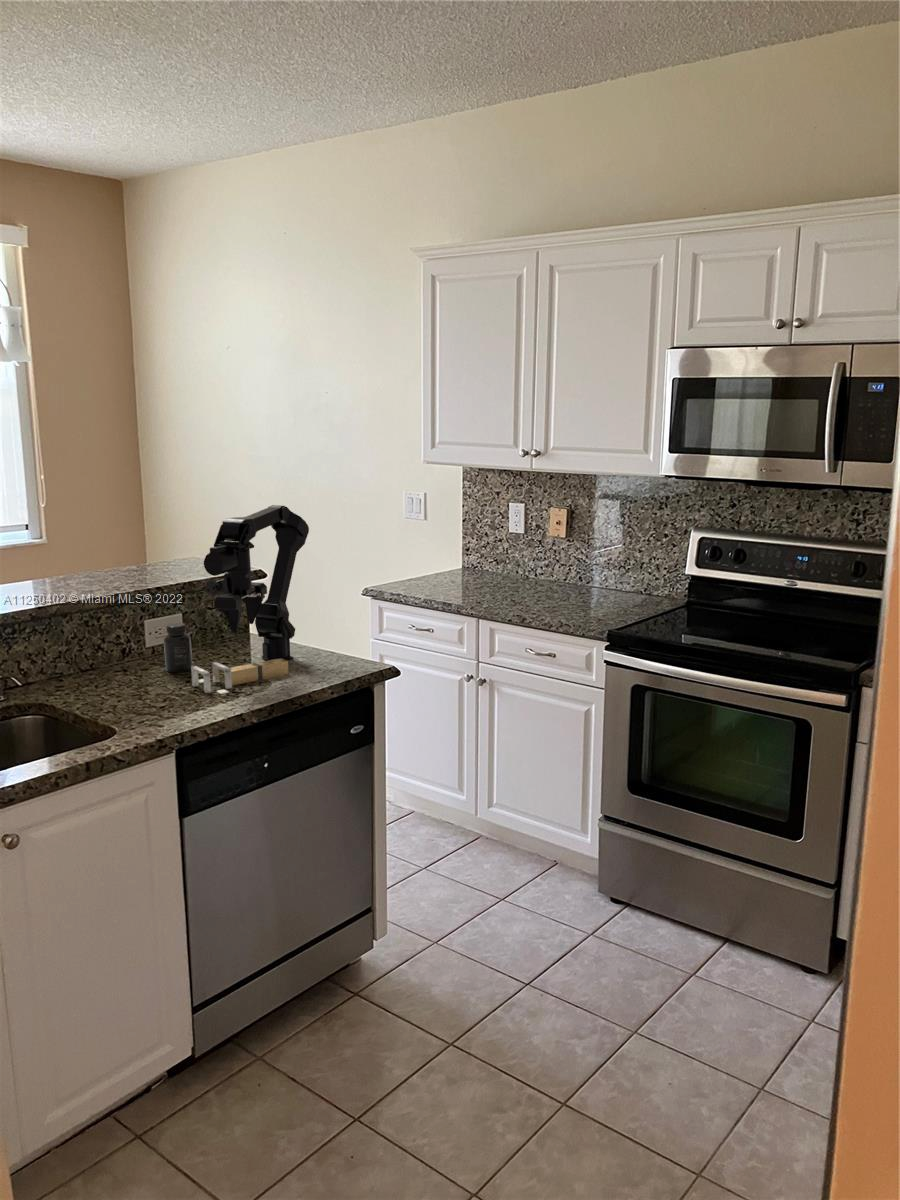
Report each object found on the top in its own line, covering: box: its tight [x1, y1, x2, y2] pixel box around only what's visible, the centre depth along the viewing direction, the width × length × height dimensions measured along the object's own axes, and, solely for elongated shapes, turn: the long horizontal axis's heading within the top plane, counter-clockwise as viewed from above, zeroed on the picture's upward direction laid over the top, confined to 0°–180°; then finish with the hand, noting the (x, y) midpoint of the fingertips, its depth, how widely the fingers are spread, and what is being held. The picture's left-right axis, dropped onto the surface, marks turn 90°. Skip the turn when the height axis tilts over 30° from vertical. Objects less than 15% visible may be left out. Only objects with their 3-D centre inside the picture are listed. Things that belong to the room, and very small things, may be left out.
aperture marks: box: [199, 678, 229, 695], centre depth 235 cm, size 2×14×1 cm, turn 39°
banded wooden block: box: [223, 658, 289, 686], centre depth 243 cm, size 16×4×4 cm, turn 129°
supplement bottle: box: [163, 622, 194, 673], centre depth 250 cm, size 7×7×12 cm
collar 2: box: [211, 661, 233, 690], centre depth 237 cm, size 1×8×5 cm, turn 39°
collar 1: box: [190, 665, 212, 694], centre depth 233 cm, size 1×8×5 cm, turn 39°
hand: (242, 628), depth 245 cm, fingers open, 9 cm apart
